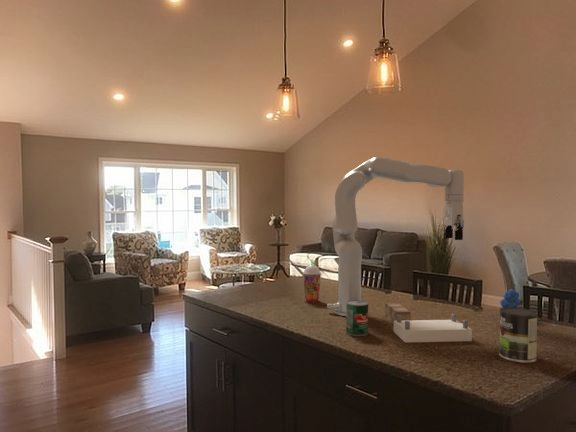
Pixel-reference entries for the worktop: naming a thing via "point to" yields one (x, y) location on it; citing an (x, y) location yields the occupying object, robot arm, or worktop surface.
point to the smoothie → (312, 282)
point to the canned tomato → (357, 317)
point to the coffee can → (518, 334)
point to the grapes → (510, 299)
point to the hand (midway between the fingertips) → (453, 238)
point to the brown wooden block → (396, 312)
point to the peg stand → (432, 330)
